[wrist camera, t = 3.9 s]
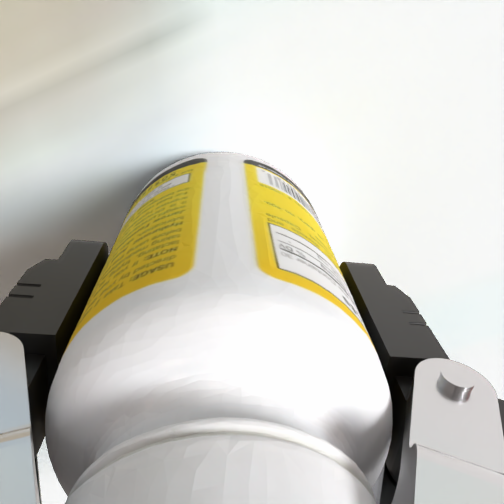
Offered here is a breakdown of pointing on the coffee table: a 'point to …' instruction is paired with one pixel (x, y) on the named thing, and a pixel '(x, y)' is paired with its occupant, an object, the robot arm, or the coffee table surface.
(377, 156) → the coffee table surface
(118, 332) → the supplement bottle
